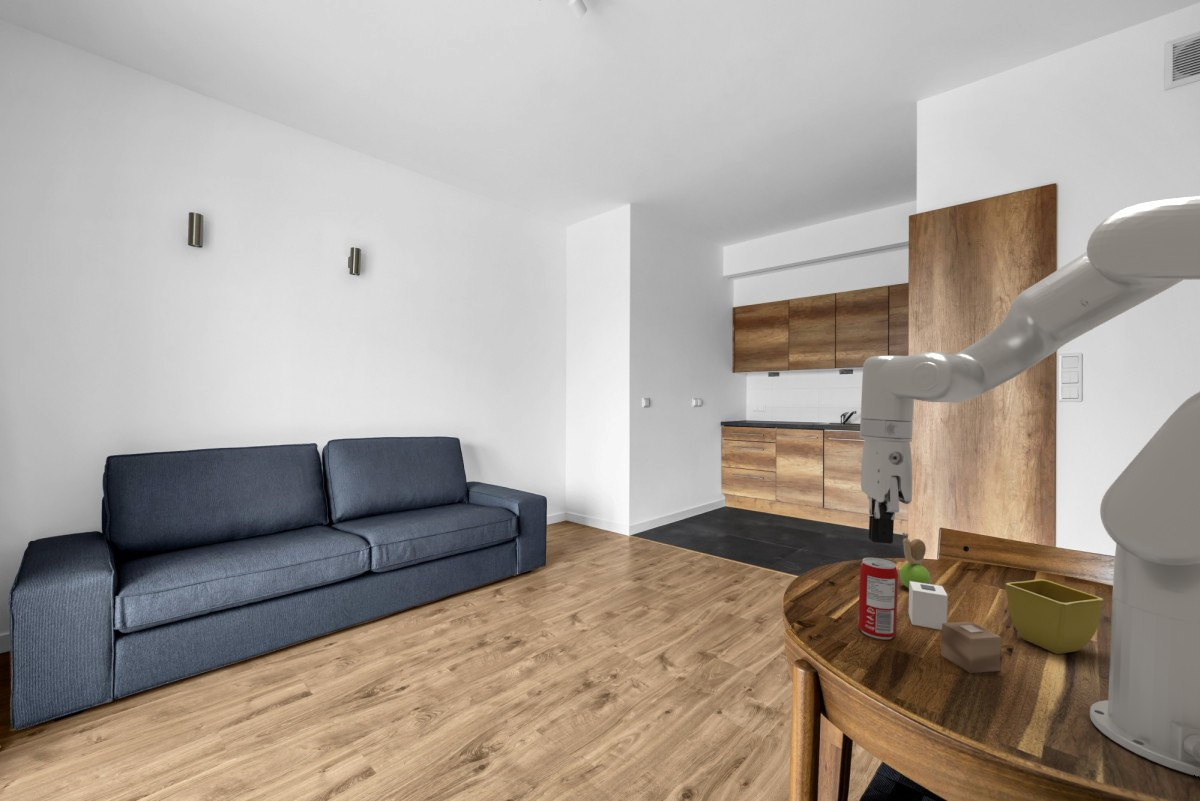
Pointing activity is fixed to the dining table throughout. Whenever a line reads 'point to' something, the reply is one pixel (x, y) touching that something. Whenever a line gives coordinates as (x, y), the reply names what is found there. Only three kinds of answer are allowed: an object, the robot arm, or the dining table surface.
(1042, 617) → the flower pot
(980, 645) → the walnut block
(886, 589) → the soda can
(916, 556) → the snail figurine
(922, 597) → the white block
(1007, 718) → the dining table surface
